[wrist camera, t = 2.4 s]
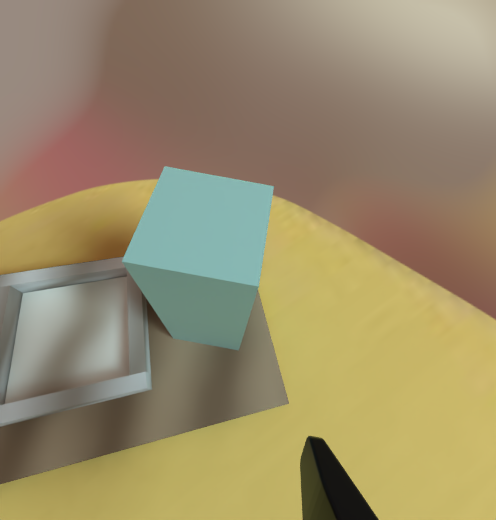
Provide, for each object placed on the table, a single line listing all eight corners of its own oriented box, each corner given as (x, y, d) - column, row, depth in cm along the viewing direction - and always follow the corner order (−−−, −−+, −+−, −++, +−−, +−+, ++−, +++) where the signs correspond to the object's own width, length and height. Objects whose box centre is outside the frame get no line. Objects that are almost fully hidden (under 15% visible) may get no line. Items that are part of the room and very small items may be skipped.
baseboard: (-56, 499, 15) (-101, 513, 13) (-8, 287, 22) (-34, 274, 19) (286, 403, 19) (294, 403, 17) (244, 248, 26) (246, 233, 23)
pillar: (238, 350, 20) (258, 286, 10) (173, 338, 20) (121, 261, 10) (249, 289, 22) (273, 186, 12) (190, 278, 22) (164, 166, 12)
